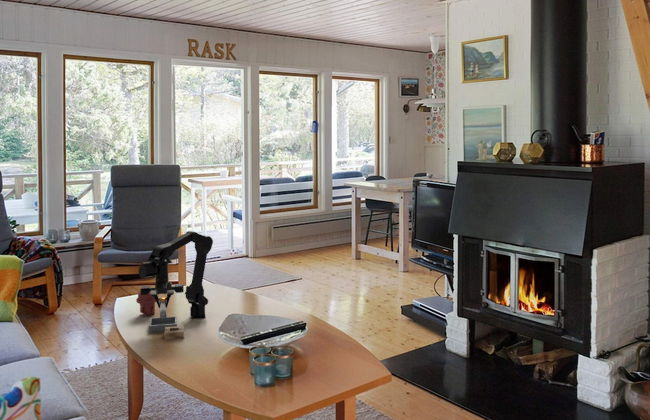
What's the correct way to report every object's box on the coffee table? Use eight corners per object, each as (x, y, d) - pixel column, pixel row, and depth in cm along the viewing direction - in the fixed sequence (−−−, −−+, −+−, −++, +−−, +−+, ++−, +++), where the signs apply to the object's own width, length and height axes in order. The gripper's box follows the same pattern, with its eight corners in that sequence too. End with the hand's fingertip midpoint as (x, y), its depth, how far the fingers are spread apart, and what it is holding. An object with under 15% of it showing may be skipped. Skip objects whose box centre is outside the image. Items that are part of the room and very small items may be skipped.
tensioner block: (183, 332, 264) (183, 325, 263) (183, 338, 256) (183, 331, 256) (165, 333, 262) (165, 327, 261) (164, 339, 254) (164, 333, 254)
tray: (177, 322, 277) (176, 316, 277) (176, 330, 266) (176, 324, 266) (150, 324, 275) (150, 318, 274) (149, 332, 263) (148, 326, 263)
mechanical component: (162, 312, 294) (152, 318, 284) (143, 310, 295) (133, 316, 286) (161, 287, 292) (151, 293, 282) (142, 286, 294) (132, 291, 284)
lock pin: (167, 315, 272) (166, 296, 271) (167, 318, 268) (166, 298, 267) (159, 316, 271) (158, 297, 270) (159, 318, 268) (158, 299, 267)
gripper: (138, 279, 257) (140, 314, 259) (183, 277, 261) (184, 311, 264) (140, 273, 268) (141, 307, 270) (182, 271, 272) (184, 304, 274)
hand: (162, 307), depth 269 cm, fingers closed on lock pin, 3 cm apart
